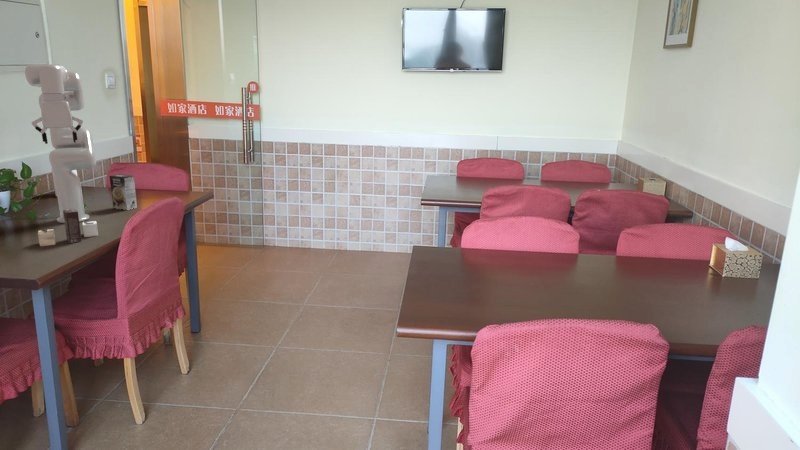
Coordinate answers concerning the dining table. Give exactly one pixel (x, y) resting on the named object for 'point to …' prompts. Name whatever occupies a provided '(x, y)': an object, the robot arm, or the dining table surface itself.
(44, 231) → the birch digit block
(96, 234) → the offwhite digit block
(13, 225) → the dining table surface
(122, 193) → the coffee box
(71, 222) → the box
